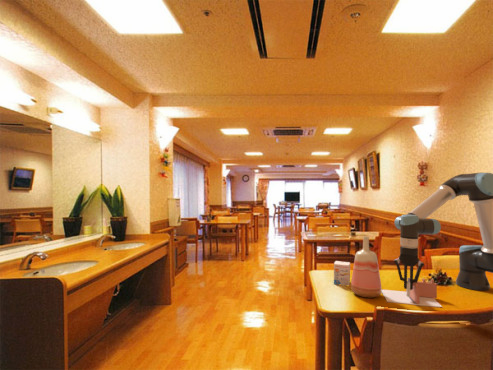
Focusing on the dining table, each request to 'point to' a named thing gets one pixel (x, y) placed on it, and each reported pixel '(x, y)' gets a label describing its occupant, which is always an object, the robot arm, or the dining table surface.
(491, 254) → the robot arm
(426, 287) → the fixed fence panel
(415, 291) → the folding fence panel
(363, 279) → the vase
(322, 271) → the dining table surface
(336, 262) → the ink box
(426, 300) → the card
